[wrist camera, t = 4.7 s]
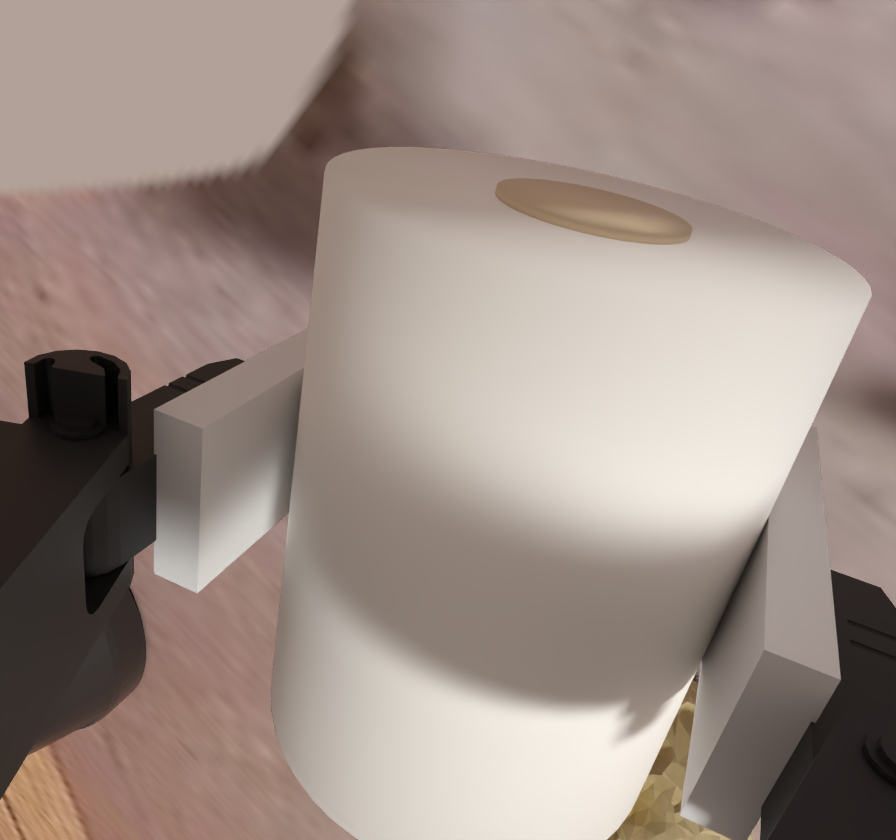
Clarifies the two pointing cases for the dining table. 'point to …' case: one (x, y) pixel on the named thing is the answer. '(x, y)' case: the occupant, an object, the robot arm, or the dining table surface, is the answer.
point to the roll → (528, 481)
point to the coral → (667, 788)
